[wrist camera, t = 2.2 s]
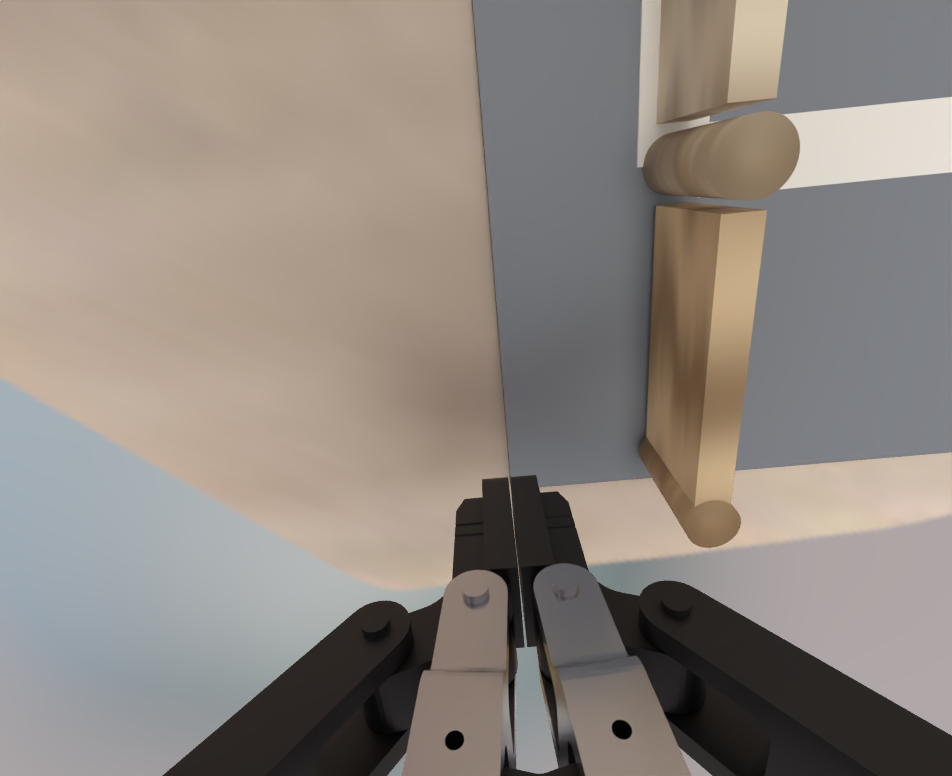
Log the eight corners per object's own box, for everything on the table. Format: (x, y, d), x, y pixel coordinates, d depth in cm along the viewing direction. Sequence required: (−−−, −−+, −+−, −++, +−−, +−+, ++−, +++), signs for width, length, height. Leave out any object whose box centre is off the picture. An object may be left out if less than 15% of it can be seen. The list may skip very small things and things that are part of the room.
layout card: (444, -349, 13) (443, -369, 13) (1274, -459, 13) (1305, -484, 12) (510, 484, 23) (511, 491, 23) (974, 445, 23) (984, 450, 22)
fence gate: (647, 206, 18) (712, 216, 13) (698, 201, 18) (783, 209, 13) (637, 468, 22) (684, 549, 17) (679, 465, 22) (737, 545, 17)
